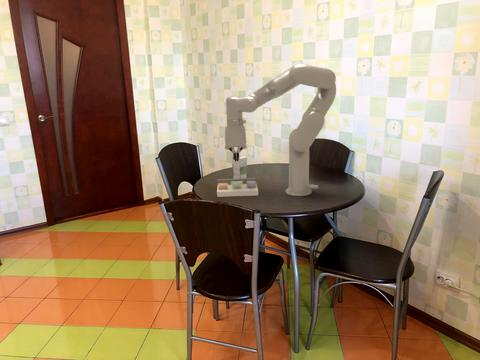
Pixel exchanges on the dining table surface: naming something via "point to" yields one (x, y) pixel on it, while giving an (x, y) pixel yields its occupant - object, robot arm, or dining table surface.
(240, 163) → the syrup box
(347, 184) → the dining table surface
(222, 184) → the terracotta key
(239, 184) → the sage key
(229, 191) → the keypad
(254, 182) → the grey key
